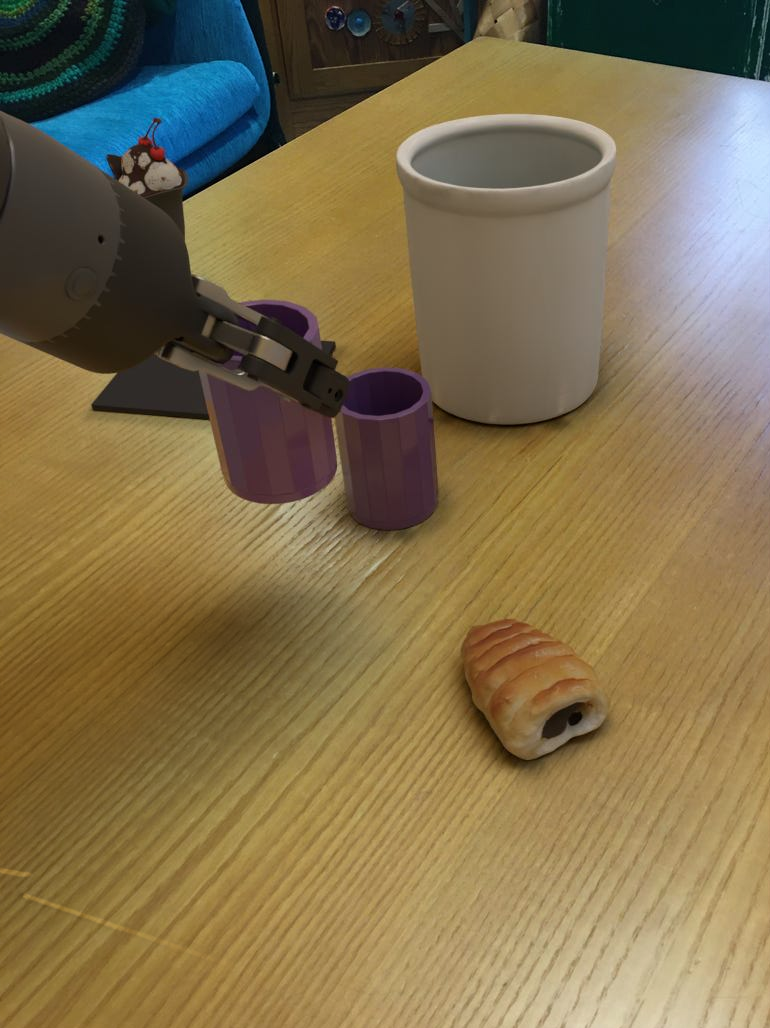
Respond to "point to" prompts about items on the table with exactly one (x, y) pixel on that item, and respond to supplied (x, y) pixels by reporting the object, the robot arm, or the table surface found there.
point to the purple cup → (270, 427)
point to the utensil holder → (508, 261)
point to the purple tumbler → (388, 448)
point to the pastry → (531, 687)
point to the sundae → (152, 176)
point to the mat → (160, 390)
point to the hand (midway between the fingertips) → (288, 379)
